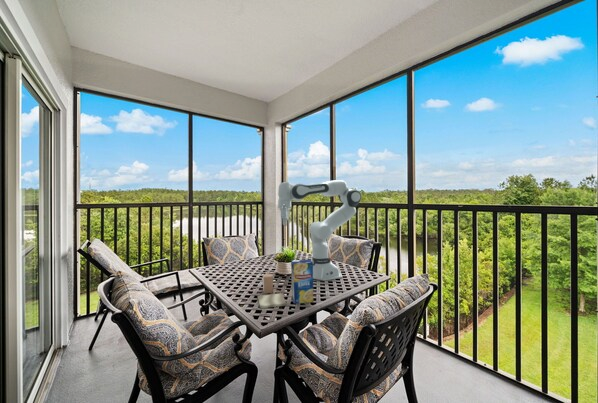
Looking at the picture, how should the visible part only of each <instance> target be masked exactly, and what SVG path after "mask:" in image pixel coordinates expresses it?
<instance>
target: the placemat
mask: <svg viewBox="0 0 598 403" xmlns="http://www.w3.org/2000/svg"><path fill="white" fill-rule="evenodd" d="M257 301H258V305H259V309H260V310H261V309H269V308H274V307H276V306H277V307H284V306H287V302H286V299H285V297H284V295H283V294H282V293H280V292H278V293H269V294H263V295H261V294H260V295H257ZM277 307H276V308H277Z"/></svg>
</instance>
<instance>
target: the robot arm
mask: <svg viewBox="0 0 598 403" xmlns="http://www.w3.org/2000/svg"><path fill="white" fill-rule="evenodd" d="M277 190H278V192H277V193H278V194H277V195H278V202H277V204H278V205H277V206H278V207H277V208H278V209H279V210H280V218H281V219H282V225H283V226H284V227H287V225H288V220H289V219H290V218H289V217H290V216H289V215H290V210H291V208H292V201H293V202H300V201H302V200H303V199H304V198H306V197H307V196H311V195H318V194H321V196H323V197H335V196H336V197H337V196H338V199H339V202H341V203H342V206H340V207H339V208H337V209H336V210H333V212H331V213H330V214H328V216H327V217H326V218H325V219H324V220H322V221H314V222H312V223H311V224H310V225H309V233H310V238H311V245H312V247H311V248H312V257H311V261H312V262H313V280H319V281H324V282H325V281H326V282H327V281H331V280H335V279H341V278H342V277H343V274H342V273H341V272H340V270H339V268H338V266H337V265H335V264H334V263H333V261H334V259H333V258H332V257H330V256H329V245H328V243H327V242H328V241H327V240H328V239H330V237H331V236H332V234H333V233H334V232H335V231H336V230H337V229H338V228H339V227H341V226H342V225H344V224H345V223H347V222H348V221H350V220H351V219H352V218H353V217H354V216H355V215H356V213H357V209H356V207H358V205H359V203H360V202H361V200H362V193H361V191H359V190H358V189H353V188H352V189H351V188H350V189H349V187H348V184H347V182H346V181H345V180H341V179H339V180H337V179H336V180H329V181H325V182H321V183H317V184H310V185H309V184H308V185H307V184H303V183H297V184H295V185H294V184H292V183H291V182H290V181H284V182H281V183H280V184H279V185H278V189H277Z"/></svg>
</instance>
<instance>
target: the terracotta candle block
mask: <svg viewBox="0 0 598 403" xmlns="http://www.w3.org/2000/svg"><path fill="white" fill-rule="evenodd" d="M262 291H263V295H267V294H274V277H273V274H272V273H266V274H265V273H264V274H262Z"/></svg>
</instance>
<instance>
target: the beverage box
mask: <svg viewBox="0 0 598 403" xmlns="http://www.w3.org/2000/svg"><path fill="white" fill-rule="evenodd" d="M290 261H291V263H290V264H291V265H290V266H291V267H290V268H291V271H290V272H291V273H290V274H291V277H290V278H291V300H292V302H293V304H295V305H296V304H297V305H298V304H305V303H312V302H314V278H313V262H312V259H298V260H290Z"/></svg>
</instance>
